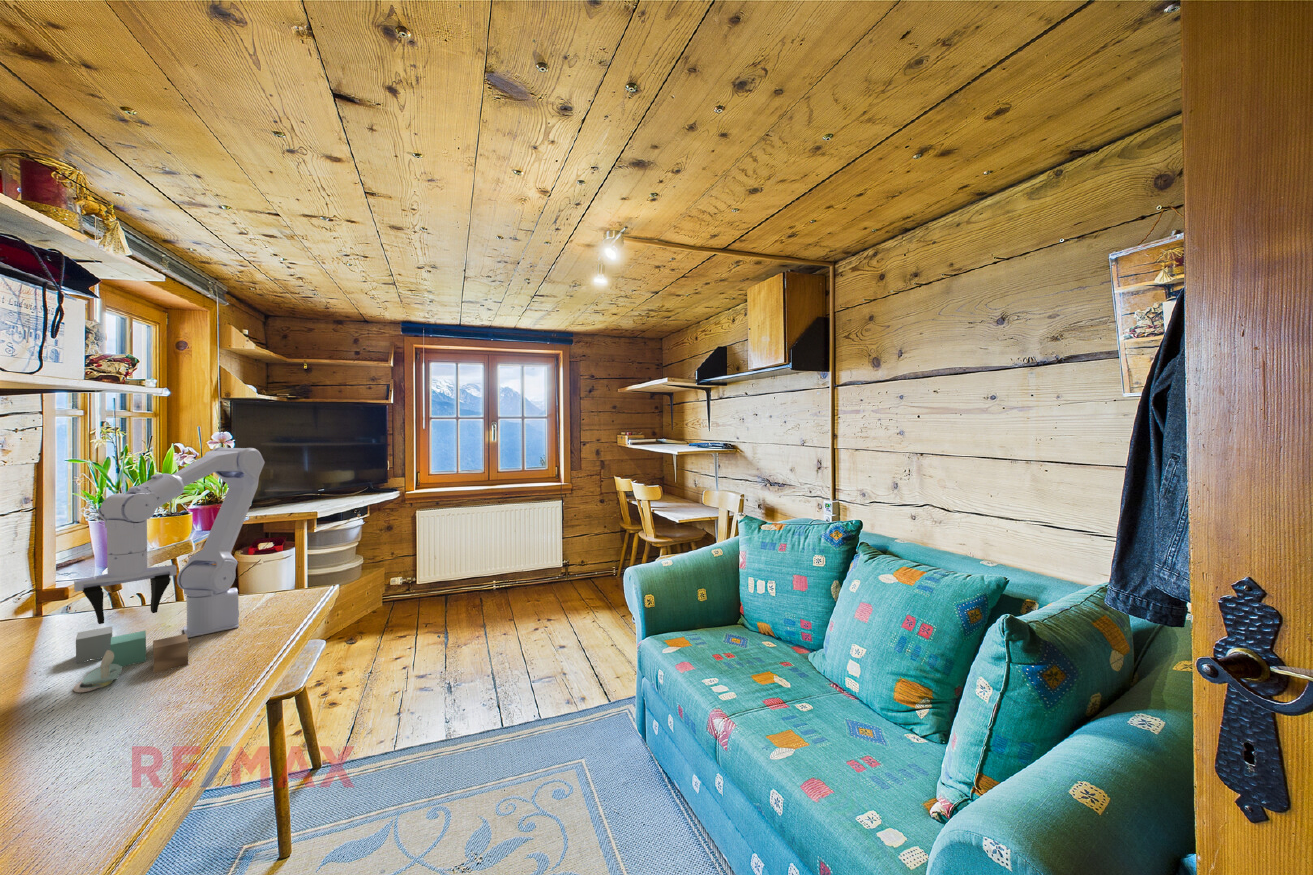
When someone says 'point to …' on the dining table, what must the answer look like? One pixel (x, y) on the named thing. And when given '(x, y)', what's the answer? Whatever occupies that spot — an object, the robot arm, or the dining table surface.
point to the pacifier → (100, 674)
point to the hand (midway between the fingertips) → (128, 617)
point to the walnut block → (170, 653)
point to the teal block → (129, 648)
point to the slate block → (93, 644)
